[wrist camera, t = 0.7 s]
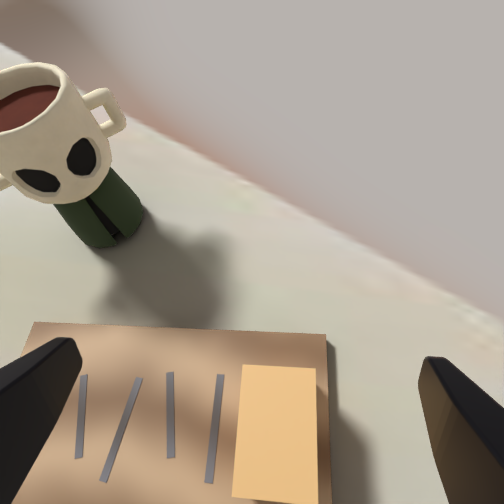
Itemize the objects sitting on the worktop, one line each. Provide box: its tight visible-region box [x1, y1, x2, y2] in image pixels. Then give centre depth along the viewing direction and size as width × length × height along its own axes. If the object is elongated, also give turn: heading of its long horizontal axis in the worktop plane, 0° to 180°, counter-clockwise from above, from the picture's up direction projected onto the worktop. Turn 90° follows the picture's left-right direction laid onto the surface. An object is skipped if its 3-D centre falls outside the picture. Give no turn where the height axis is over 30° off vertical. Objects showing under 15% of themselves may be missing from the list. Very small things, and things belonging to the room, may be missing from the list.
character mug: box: [0, 62, 143, 248], centre depth 25 cm, size 11×7×13 cm, turn 123°
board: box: [12, 322, 332, 504], centre depth 22 cm, size 12×22×1 cm, turn 86°
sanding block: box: [232, 364, 318, 504], centre depth 18 cm, size 6×4×4 cm, turn 176°
